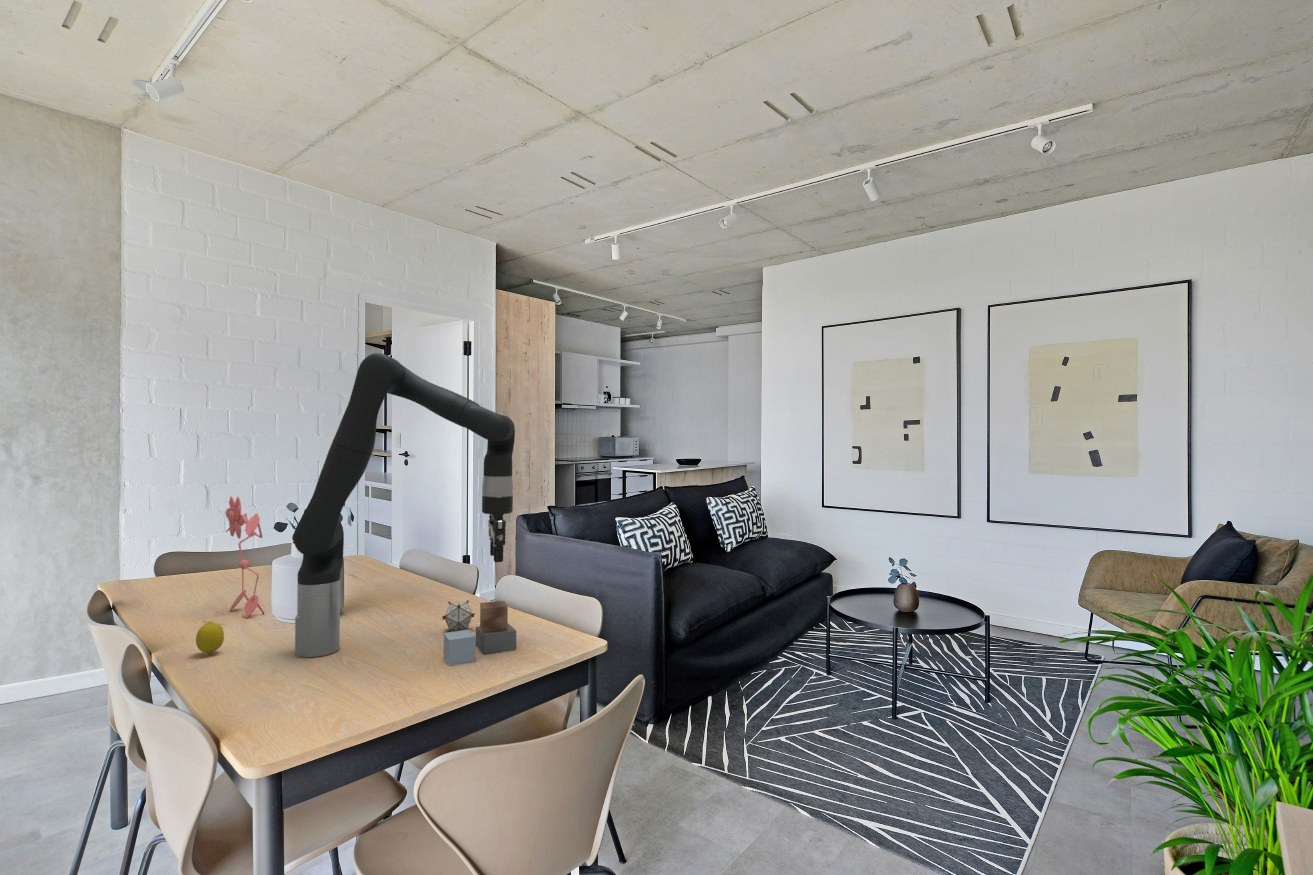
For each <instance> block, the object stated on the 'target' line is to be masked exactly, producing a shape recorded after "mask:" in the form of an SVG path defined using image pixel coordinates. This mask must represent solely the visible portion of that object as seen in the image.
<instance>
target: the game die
mask: <svg viewBox="0 0 1313 875" xmlns="http://www.w3.org/2000/svg"><path fill="white" fill-rule="evenodd" d="M469 602H470V601H469V599H468V600H466V601H465V602H455V603H454V602H453V603H451V601H450V600H449V601H448V602H447V603H448V604H449V606H448V607H447V610H446V612H445V614H444V615H442V620H443V621H444V620H445V623H446V626H447V627H448V631H447V633H448V632H454V631H462V630H469V629H468V628H469V625H470V623H471V620H472V618H474V617H475V615H476V614H475V613H474V612H472V610H471V608H470V606H469Z"/></svg>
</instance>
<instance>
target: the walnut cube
mask: <svg viewBox="0 0 1313 875" xmlns="http://www.w3.org/2000/svg"><path fill="white" fill-rule="evenodd" d="M508 608H509V607H508V605H507V603H506V601H505V600H500V601H499V600H498V601H488V602H487V601H486V602H480V609H479V614H480V616H479V623H480V624H479V626H480V627H481V630H482V633H492V632H502V631H507V623H508V612H509V611H508Z"/></svg>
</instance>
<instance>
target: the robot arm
mask: <svg viewBox="0 0 1313 875" xmlns="http://www.w3.org/2000/svg"><path fill="white" fill-rule="evenodd" d="M387 395H392V396H396V397H399V398H403V399H407V400H409V401H411V402H414V403H416V404H418V405H420V406H422V407H423V408H426V409H427V410H429V411H430V412H432V413H433V414H436V415H437V416H439V417H441V418H442V419H445V420H446V421H449V422H451V423H452V424H455V425H457V426H459V427H462V428H465V429H467V430H469V431H471V432H472V433H474V434H476V435H478V436H479V437H481V438H483V439H485V440H487V445H486V449H487V450H486V454H485V455H484V458H483V476H482V477H483V479H482V487H481V488H482V489H481V490H482V491H481V513H483V514H485V515H488V518H489V519H488V521H487V524H488V530H487V531H488V537H489V538H488V539H489V541H490V543H489V544H490V545H489V555H490V556H491V557H493V563H503V562H504V547H505V545H506V535H507V534H506V526H507V521H506V520H505V519H504V515H508V514H511V513H513V509H514V508H513V507H514V505H513V502H514V501H513V500H514V481H513V453H514V445H515V440H516V439H515V437H516V428H515V423H514V421H513V420H512V419H511V418H510V417H509V416H507V415H504V414H499V413H497V412H495V411H492V410H490V409H488V408H486V407H483V406H482V405H480V404H479V403H477V402H476V401H474V400H472V399H470V398H468V397H465V396H463V395H461V394H459V393H457V392H454V391H452V390H450V389H448V388H445V387H442V386H439V385H437V384H434V383H432V382H430V381H428V380H426V379H425V378H422V377H421V376H419V375H417V374H416V373H415V372H413V371H411V370H410V369H408V368H407V367H405V366H404V365H403V364H401V362H399V360H397V359H395V358H393V357H391V356H390V355H386V354H384V353H380V352H376V353H375V352H374V353H371V354H369V355H367V356H366V357H365V358H364V359H363V360H362V361H361V362H360V364H359V367H358V369H357V371H356V375H355V380H354V383H353V387H352V391H351V394H350V398H349V401H348V403H347V406H346V409H345V411H344V413H343V415H342V418H341V421H340V423H339V425H338V428H337V430H336V432H335V434H334V436H333V439H332V442H331V444H330V445H329V446H330V447H329V449H328V452H327V454H326V457H325V461H324V462H323V465H322V468H321V471H320V473H319V475H318V479H317V482H316V486H315V489H314V492H313V494H312V497H311V499H310V500H309V502H308V504H307V506H306V508H305V509H304V511H303V513H302V516H301V517H300V519H299V522H298V523H297V525H296V527H295V529H294V532H293V543H294V547H295V548H296V550H297V552H299V553H301V554H302V561H301V566H300V567H299V569H298V571H297V593H296V594H297V598H296V600H297V601H296V602H297V603H296V604H297V605H296V607H297V609H296V610H297V613H296V615H295V619H294V622H295V623H294V624H295V625H294V632H295V633H294V657H295V658H297V657H298V658H299V657H300V658H301V657H303V658H316V657H322V656H328V655H331V654H333V653H336V652H337V651H339V650H340V648H341V646H340V644H341V639H340V638H341V637H340V634H341V631H340V630H341V571H342V568H343V562H344V547H345V546H344V543H345V542H344V540H345V534H344V527H343V525H342V522H341V521H340V517H341V516H340V515H341V514H342V511H343V508H344V506H345V504H346V501H347V500H348V499H349V497H350V495H351V494H352V493H353V491H354V489H355V488H356V486H357V485H358V483H359V481H360V480H361V478H362V477H363V475H364V474H365V471H366V469H367V467H368V464H369V461H370V459H371V457H372V454H373V451H374V448H375V443H376V435H377V422H378V415H379V412H380V409H381V407H382V404H383V402H384V400H385V397H386V396H387Z"/></svg>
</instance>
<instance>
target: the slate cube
mask: <svg viewBox="0 0 1313 875" xmlns="http://www.w3.org/2000/svg"><path fill="white" fill-rule="evenodd" d="M443 659H444V661H445V663H447V666H448V667H449V666H457V665H462V664H468V663H473V662H474V663H475V662H476V634H474V633H473V631H472V630H471V629H468V630H466V629H465V630H454V631H450V632H448V631H447V632H443Z"/></svg>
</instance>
